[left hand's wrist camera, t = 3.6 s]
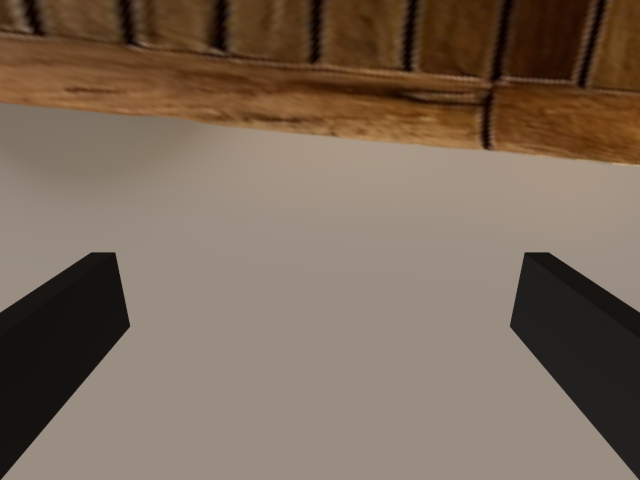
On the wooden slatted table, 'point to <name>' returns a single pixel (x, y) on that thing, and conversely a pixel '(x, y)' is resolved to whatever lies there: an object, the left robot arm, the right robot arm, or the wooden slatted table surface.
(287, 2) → the wooden slatted table surface
